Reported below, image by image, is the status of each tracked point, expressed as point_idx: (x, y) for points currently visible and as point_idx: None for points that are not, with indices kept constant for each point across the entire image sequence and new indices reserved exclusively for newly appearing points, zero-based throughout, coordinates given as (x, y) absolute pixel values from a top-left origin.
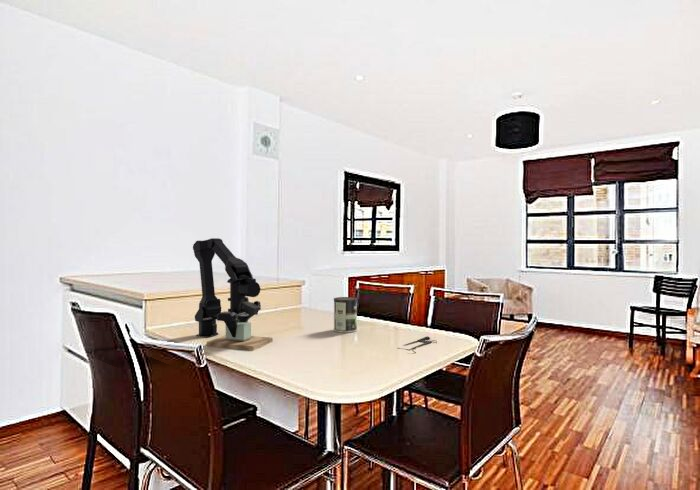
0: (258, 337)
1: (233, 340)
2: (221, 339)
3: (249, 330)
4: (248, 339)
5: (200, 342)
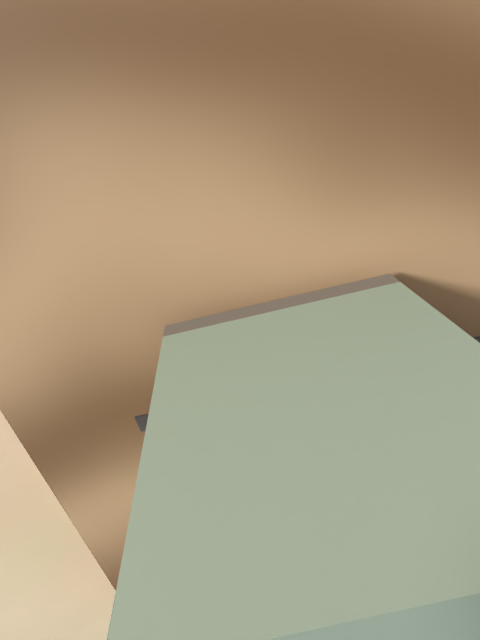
0: (1, 297)
1: None
2: None
3: (222, 407)
4: None
5: None
